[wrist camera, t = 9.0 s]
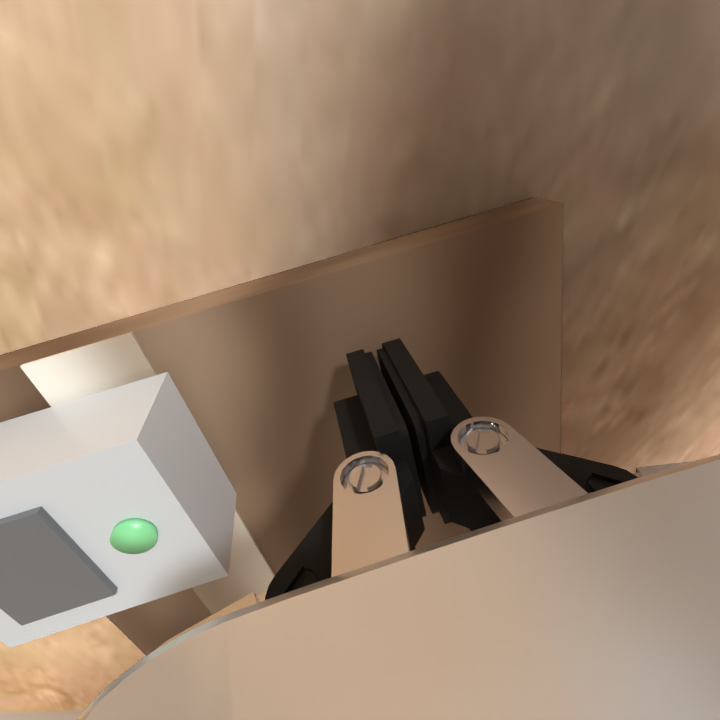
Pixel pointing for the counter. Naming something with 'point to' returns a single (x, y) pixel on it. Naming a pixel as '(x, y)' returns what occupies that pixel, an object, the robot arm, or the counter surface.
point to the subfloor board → (324, 373)
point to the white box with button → (107, 508)
